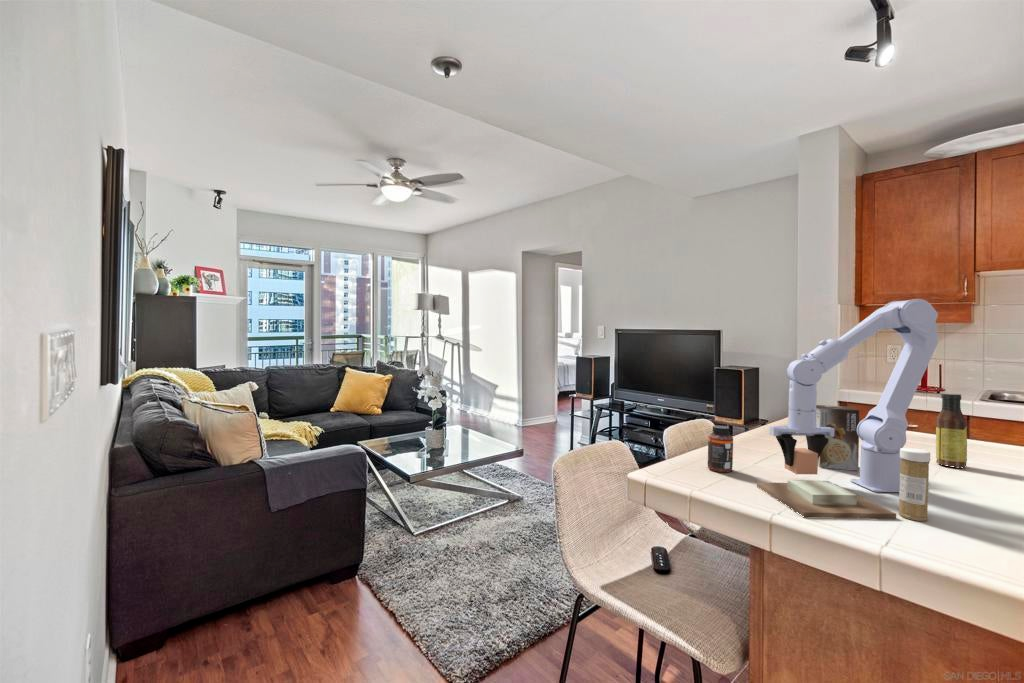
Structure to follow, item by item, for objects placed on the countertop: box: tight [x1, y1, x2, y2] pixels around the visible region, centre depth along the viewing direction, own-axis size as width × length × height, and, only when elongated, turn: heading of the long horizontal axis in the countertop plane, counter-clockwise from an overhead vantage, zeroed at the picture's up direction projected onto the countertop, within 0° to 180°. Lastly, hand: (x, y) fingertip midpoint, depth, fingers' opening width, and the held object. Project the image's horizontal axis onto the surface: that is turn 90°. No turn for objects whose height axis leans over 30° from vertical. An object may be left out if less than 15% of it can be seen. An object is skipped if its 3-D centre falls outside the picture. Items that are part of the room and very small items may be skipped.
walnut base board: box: [756, 479, 897, 520], centre depth 102 cm, size 18×18×3 cm
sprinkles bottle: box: [897, 446, 931, 522], centre depth 94 cm, size 5×5×13 cm
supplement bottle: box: [707, 424, 734, 473], centre depth 124 cm, size 6×6×11 cm
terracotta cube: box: [784, 447, 819, 475], centre depth 116 cm, size 5×5×5 cm
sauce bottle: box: [935, 392, 968, 468], centre depth 130 cm, size 7×6×20 cm
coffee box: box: [816, 404, 860, 471], centre depth 129 cm, size 9×6×16 cm
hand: (800, 465), depth 116 cm, fingers closed on terracotta cube, 5 cm apart
